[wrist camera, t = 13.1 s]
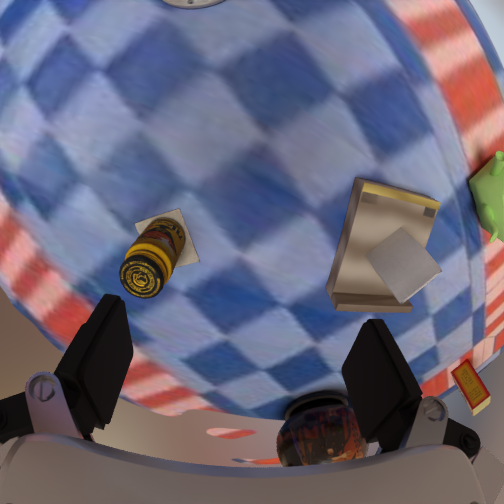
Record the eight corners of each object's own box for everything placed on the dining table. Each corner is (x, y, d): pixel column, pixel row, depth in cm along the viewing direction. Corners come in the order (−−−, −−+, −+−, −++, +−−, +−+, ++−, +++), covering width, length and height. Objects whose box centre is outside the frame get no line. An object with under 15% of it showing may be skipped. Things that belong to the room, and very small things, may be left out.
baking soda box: (469, 369, 61) (490, 403, 47) (454, 381, 63) (473, 417, 48) (467, 358, 58) (491, 396, 43) (450, 372, 59) (472, 410, 45)
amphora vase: (260, 422, 62) (265, 517, 37) (296, 377, 53) (317, 500, 28) (329, 427, 66) (346, 509, 41) (373, 385, 57) (406, 481, 32)
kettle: (493, 230, 39) (528, 255, 29) (452, 224, 39) (492, 252, 29) (508, 161, 33) (548, 176, 23) (468, 142, 32) (515, 155, 22)
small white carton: (364, 255, 37) (395, 294, 28) (400, 227, 36) (438, 259, 27) (375, 271, 39) (404, 311, 30) (409, 244, 37) (445, 279, 28)
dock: (355, 177, 35) (373, 187, 30) (429, 196, 36) (451, 208, 31) (325, 287, 43) (335, 310, 38) (395, 292, 44) (410, 312, 39)
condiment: (179, 208, 37) (154, 244, 26) (199, 260, 41) (185, 311, 30) (134, 223, 38) (99, 262, 27) (157, 272, 41) (132, 321, 30)
